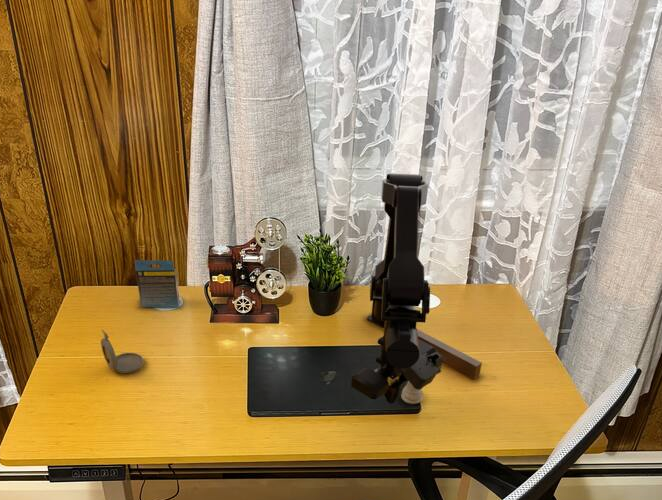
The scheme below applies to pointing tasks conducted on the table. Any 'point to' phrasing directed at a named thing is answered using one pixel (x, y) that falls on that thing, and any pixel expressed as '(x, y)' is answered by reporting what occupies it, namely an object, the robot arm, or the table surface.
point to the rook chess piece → (411, 394)
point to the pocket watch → (120, 358)
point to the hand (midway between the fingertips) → (390, 402)
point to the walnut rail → (453, 357)
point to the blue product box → (157, 283)
